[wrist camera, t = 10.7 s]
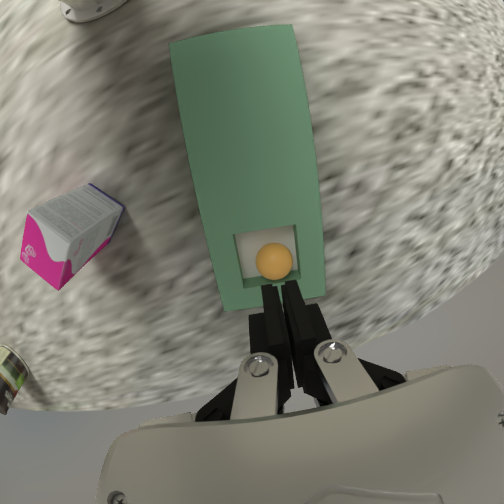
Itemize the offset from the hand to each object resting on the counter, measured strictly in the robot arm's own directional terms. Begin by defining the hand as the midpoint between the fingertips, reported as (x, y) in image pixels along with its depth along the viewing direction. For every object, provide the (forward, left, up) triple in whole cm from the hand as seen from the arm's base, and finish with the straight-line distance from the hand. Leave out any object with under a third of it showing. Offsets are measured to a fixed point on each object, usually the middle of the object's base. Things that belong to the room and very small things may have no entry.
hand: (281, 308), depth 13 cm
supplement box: (-3, -19, -18) cm, 26 cm away
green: (-4, 0, -18) cm, 19 cm away
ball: (+5, +1, -16) cm, 17 cm away
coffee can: (+23, -62, -18) cm, 68 cm away
